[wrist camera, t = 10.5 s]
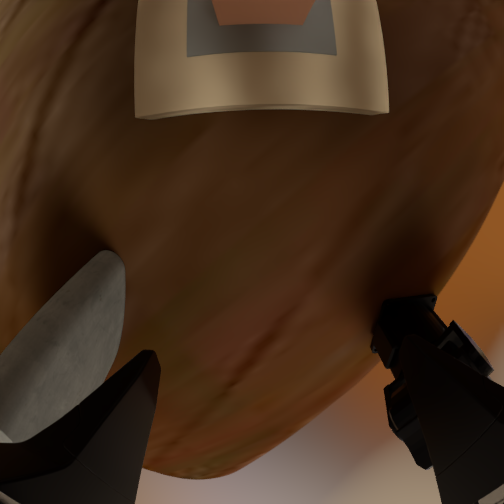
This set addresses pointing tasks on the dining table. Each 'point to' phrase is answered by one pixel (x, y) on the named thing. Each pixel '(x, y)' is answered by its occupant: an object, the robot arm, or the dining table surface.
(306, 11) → the terracotta cube
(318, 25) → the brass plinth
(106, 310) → the hip flask
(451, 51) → the dining table surface
